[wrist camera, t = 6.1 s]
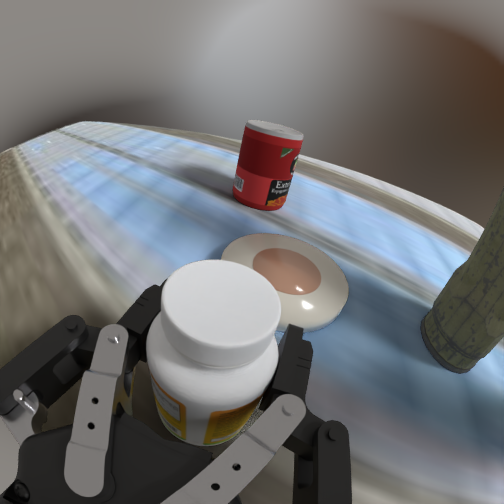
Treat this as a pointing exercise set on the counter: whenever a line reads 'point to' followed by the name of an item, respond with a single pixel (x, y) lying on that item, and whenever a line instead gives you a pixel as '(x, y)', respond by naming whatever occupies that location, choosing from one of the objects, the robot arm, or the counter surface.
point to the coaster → (294, 277)
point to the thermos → (470, 303)
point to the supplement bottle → (212, 349)
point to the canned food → (266, 164)
